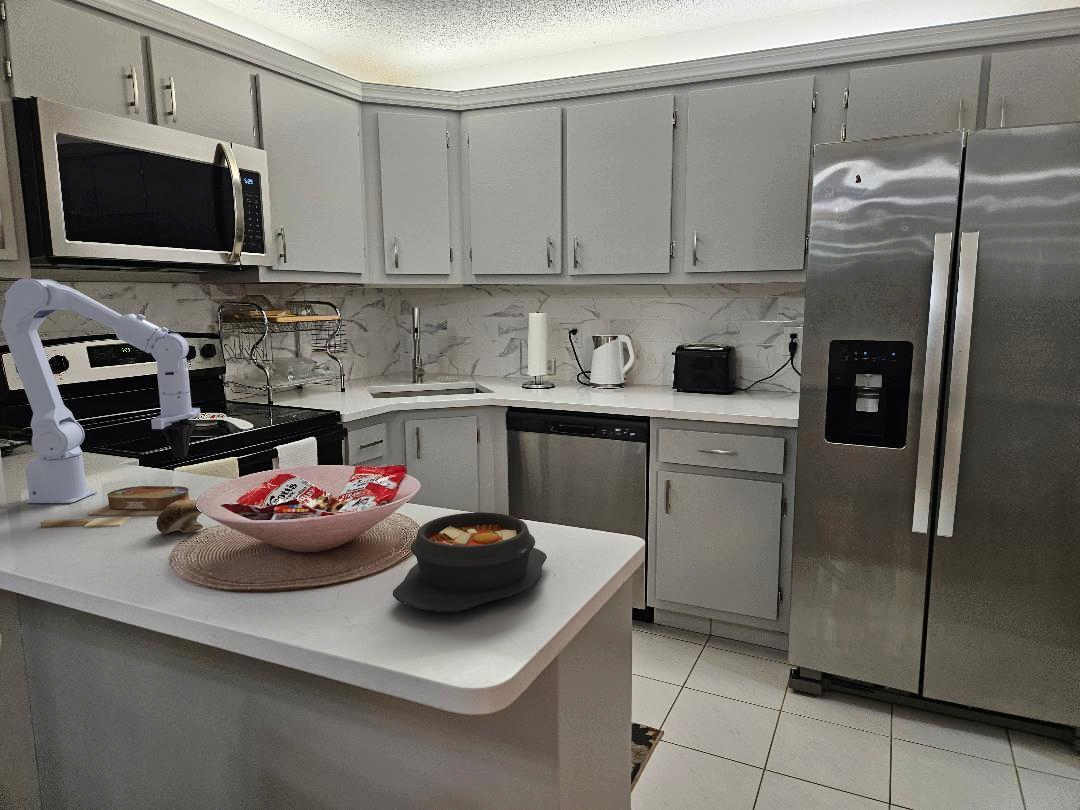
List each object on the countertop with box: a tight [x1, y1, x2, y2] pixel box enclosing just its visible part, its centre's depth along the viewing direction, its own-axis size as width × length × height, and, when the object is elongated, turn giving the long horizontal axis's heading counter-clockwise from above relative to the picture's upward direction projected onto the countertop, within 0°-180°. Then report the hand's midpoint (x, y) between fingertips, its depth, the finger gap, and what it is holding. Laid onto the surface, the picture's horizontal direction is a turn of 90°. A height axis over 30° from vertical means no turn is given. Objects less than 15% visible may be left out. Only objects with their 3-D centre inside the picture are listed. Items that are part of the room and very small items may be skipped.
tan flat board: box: [87, 504, 163, 517], centre depth 137 cm, size 17×8×1 cm, turn 87°
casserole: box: [392, 512, 548, 613], centre depth 97 cm, size 25×19×8 cm
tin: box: [106, 485, 190, 510], centre depth 138 cm, size 15×3×8 cm
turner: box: [40, 516, 132, 529], centre depth 128 cm, size 14×4×1 cm, turn 97°
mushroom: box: [155, 499, 204, 535], centre depth 122 cm, size 8×8×6 cm
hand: (180, 456), depth 149 cm, fingers closed
